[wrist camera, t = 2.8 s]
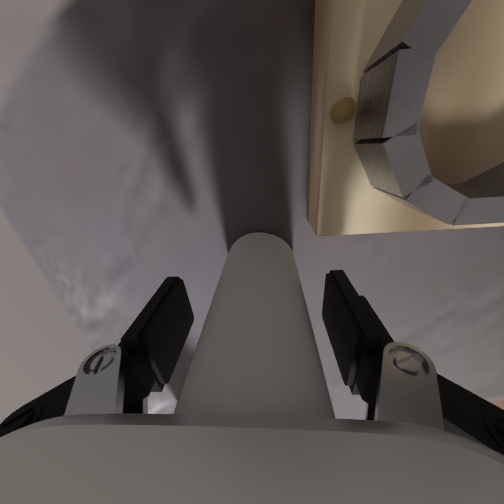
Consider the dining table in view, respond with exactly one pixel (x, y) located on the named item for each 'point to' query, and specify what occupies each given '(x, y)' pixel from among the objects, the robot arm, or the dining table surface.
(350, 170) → the mount block
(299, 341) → the beverage can
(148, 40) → the dining table surface
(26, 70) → the dining table surface
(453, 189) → the mount ring
